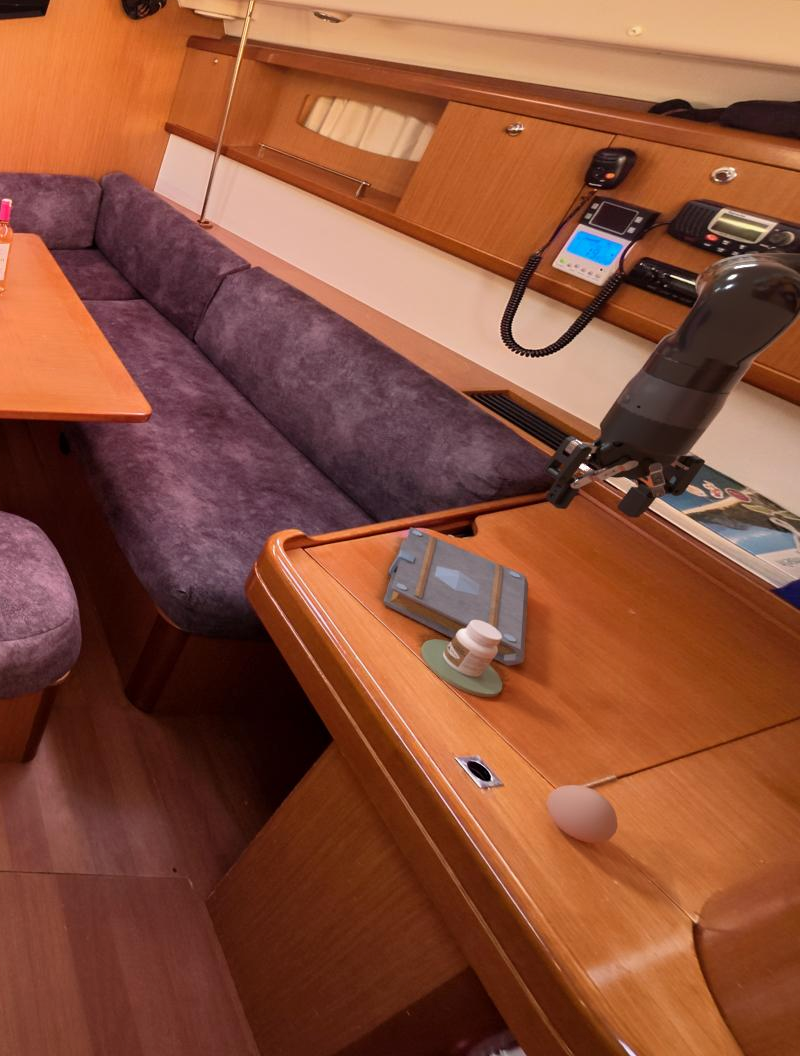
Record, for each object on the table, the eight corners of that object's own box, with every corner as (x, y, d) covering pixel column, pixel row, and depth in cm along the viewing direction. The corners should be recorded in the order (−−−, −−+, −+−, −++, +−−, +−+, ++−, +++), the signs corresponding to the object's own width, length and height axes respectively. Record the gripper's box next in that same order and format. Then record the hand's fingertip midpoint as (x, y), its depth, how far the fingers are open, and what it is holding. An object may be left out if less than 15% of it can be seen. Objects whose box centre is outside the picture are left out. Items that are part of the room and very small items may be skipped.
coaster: (497, 666, 94) (499, 663, 93) (502, 710, 88) (505, 706, 87) (420, 632, 99) (422, 628, 99) (420, 671, 93) (422, 667, 92)
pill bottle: (437, 646, 96) (461, 612, 92) (474, 658, 94) (499, 623, 91) (447, 670, 92) (472, 635, 89) (485, 682, 90) (512, 647, 87)
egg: (571, 808, 76) (603, 777, 73) (611, 858, 72) (646, 826, 69) (524, 800, 77) (553, 768, 74) (560, 848, 72) (593, 817, 69)
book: (514, 671, 93) (532, 649, 91) (378, 603, 104) (391, 582, 101) (519, 595, 106) (535, 574, 104) (398, 542, 117) (410, 522, 115)
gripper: (625, 419, 75) (554, 521, 82) (764, 433, 73) (679, 536, 80) (571, 388, 82) (510, 485, 89) (697, 400, 80) (624, 498, 87)
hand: (590, 509), depth 85 cm, fingers open, 8 cm apart
